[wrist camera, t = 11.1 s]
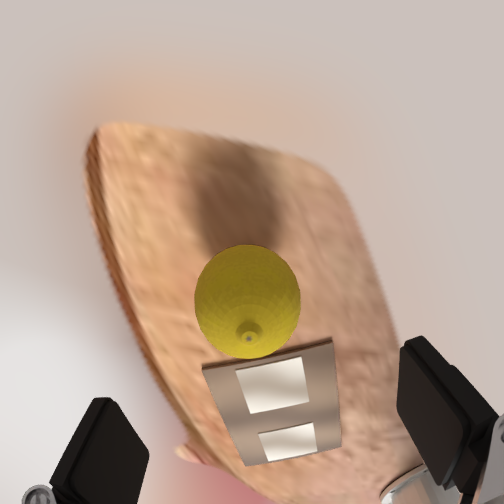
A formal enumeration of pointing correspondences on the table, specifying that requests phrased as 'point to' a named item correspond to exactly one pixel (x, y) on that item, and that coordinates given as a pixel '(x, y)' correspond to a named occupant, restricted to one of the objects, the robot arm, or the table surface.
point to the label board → (279, 403)
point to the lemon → (247, 301)
